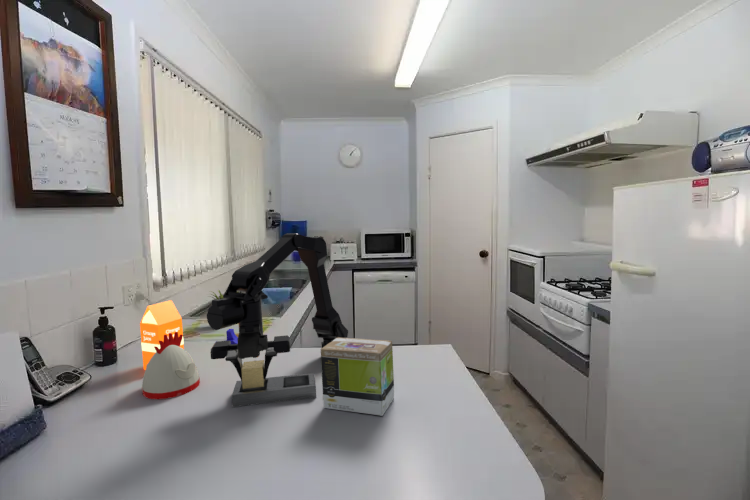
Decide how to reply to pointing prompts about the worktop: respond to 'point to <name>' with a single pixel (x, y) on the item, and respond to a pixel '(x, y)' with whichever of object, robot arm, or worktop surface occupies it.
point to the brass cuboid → (253, 374)
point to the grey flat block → (276, 390)
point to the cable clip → (231, 336)
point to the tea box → (358, 375)
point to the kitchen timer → (170, 371)
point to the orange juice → (158, 327)
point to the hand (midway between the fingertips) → (253, 379)
